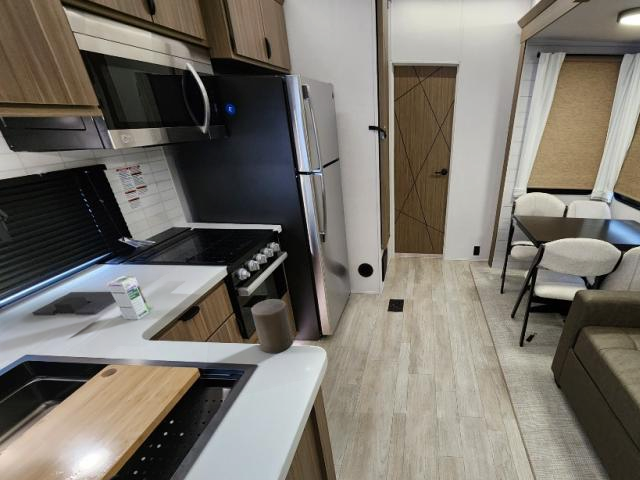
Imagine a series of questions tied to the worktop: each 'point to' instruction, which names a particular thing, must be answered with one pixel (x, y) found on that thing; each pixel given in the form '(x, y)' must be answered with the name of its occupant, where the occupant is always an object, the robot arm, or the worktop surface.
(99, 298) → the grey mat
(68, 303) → the black pad
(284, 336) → the pillar candle
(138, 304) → the syrup box
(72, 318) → the worktop surface
